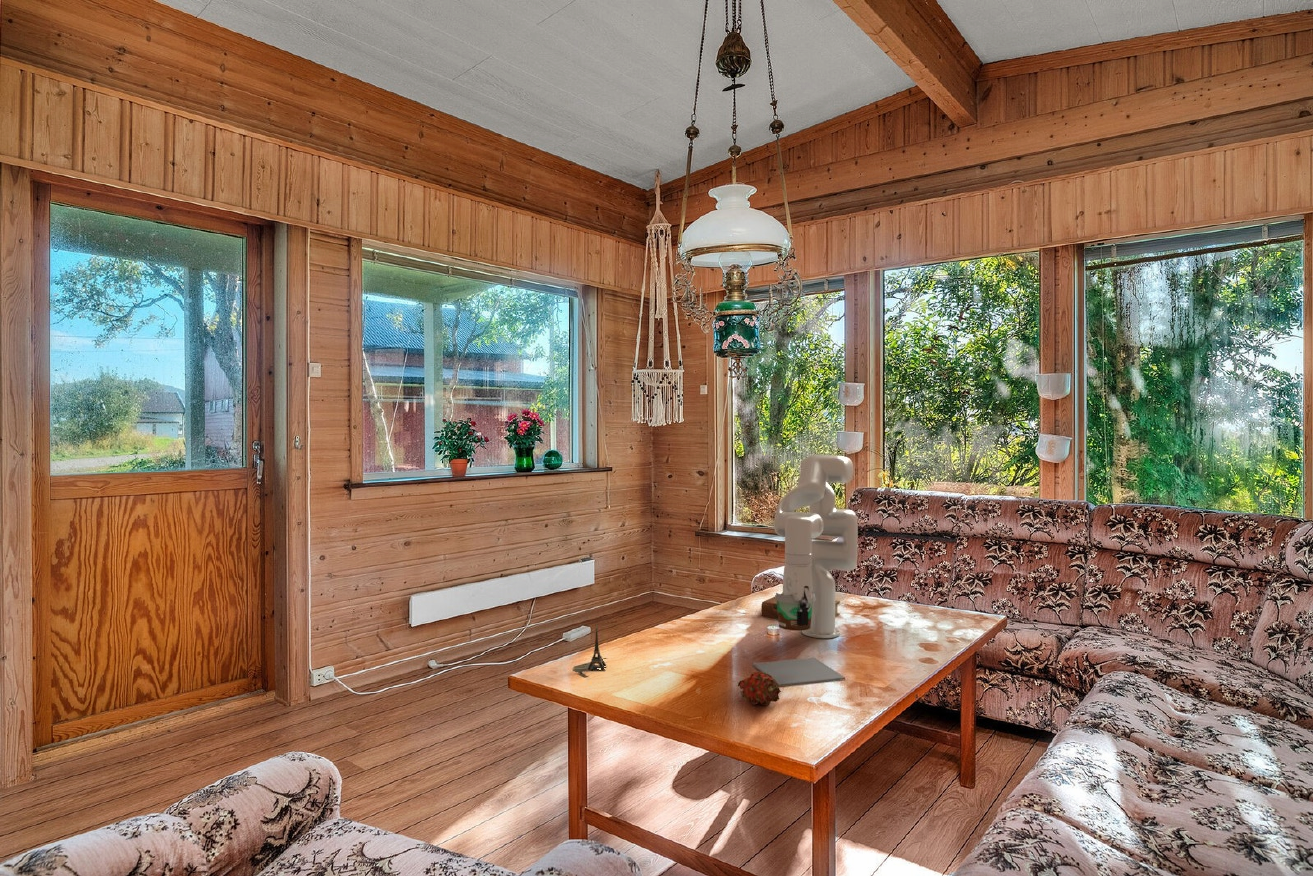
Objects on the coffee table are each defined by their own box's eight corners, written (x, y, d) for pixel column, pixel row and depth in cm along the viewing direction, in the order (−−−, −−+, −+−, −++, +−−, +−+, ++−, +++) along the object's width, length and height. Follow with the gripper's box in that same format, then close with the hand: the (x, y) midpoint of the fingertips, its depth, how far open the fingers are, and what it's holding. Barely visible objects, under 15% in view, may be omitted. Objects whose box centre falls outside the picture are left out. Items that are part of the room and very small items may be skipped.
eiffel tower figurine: (605, 659, 224) (605, 616, 224) (627, 667, 216) (626, 622, 216) (565, 670, 214) (564, 625, 214) (585, 680, 206) (585, 632, 206)
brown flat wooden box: (761, 617, 272) (761, 602, 272) (783, 607, 287) (783, 592, 287) (820, 627, 259) (820, 611, 258) (839, 615, 274) (839, 600, 274)
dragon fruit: (781, 716, 183) (740, 711, 191) (791, 688, 189) (751, 684, 197) (767, 694, 180) (726, 690, 187) (778, 666, 186) (738, 663, 193)
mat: (753, 665, 217) (753, 663, 217) (814, 659, 222) (814, 657, 222) (779, 686, 200) (779, 684, 200) (845, 679, 205) (845, 677, 205)
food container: (783, 633, 205) (783, 597, 205) (774, 627, 211) (774, 592, 211) (823, 630, 209) (823, 595, 209) (813, 624, 215) (813, 590, 214)
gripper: (773, 554, 217) (773, 616, 218) (799, 565, 201) (799, 631, 201) (796, 553, 219) (796, 614, 220) (824, 564, 203) (824, 629, 203)
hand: (797, 621), depth 210 cm, fingers closed on food container, 5 cm apart
